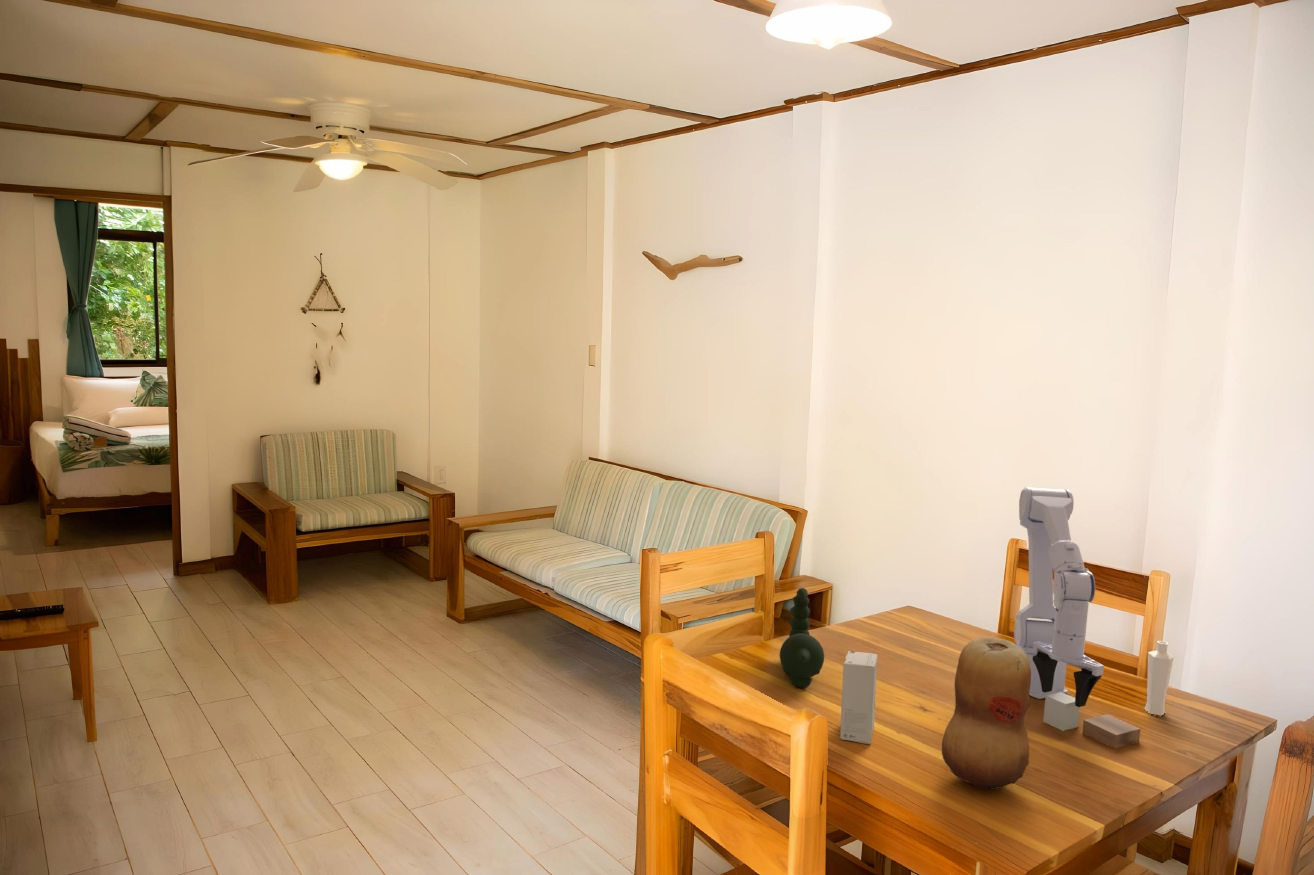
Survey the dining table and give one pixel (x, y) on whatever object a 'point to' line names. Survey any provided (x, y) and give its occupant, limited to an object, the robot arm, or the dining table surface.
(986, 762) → the butternut squash
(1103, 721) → the walnut slab
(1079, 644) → the robot arm
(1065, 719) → the grey block
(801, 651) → the toy figurine
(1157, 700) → the perfume bottle
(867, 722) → the skincare box
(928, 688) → the dining table surface
